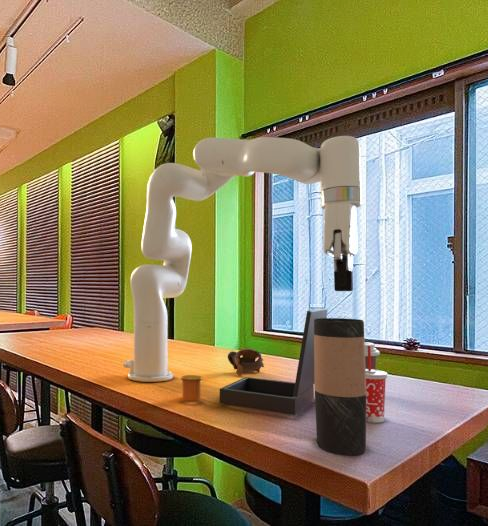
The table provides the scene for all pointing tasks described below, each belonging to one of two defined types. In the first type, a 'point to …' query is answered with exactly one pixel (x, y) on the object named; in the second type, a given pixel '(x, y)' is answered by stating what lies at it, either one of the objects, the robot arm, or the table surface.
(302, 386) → the lid
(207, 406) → the table surface
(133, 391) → the table surface
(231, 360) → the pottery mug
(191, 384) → the orange brown spool
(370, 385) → the beverage cup
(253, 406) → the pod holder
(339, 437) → the travel mug
